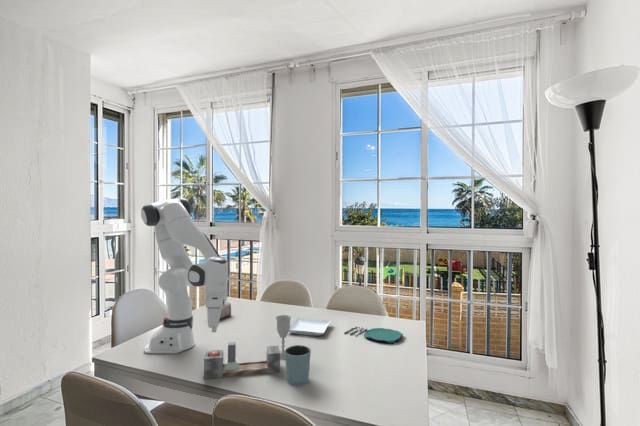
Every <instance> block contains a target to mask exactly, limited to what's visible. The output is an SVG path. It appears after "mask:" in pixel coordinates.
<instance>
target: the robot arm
mask: <svg viewBox="0 0 640 426" xmlns="http://www.w3.org/2000/svg"><path fill="white" fill-rule="evenodd" d="M191 214H192V208H191V204H190V202H189V201H188V199H187V198H182V197H178V198H172V199H171V198H170V199H164V200H160V201H156V202H153V203H147V204H145V205H143V206H142V208H141V210H140V216H141V217H140V218H141V220H142V221H143V223H144V224H145V225H146V226H147V227H154V235H155V237H156V238H155V239H156V243H157V246H158V250H159V253H160V257H161V259H162V260H164V261H165V262H166V263H167V264H168V266H169V267H170V268H169V269H166V271H164V272H162V273H161V274H160V276H159V277H158V285H159V288H160V289H161V290H162V291H163V292H164V294H165V297H166V301H167V302H166V303H167V304H166V305H167V315H165V316H164V318H163V320H162V326H161V327H159V329H157V330H155V332H153V333H152V334H151V337H150V340H149V342H148V343H147V344H146V345H145V346H144V348H143V349H144V350H143V351H144V354H179V353H182V352H184V351H186V350H190V349H191V348H193V347H195V345H196V342H195V339H194V332H193V327H194V318H193V317H194V316H193V299H192V298H191V297H190V295H189V292H188V287H190V286H193V287H204V299H203V300H204V304H205V308H206V314H207V326H208V328H209V329H211V332H212V333H217V329H218V327H219V325H220V320H221V319H220V313H221V309H222V307H223V305H224V304H225V302H228V286H227V285H228V284H227V283H228V281H229V278H230V277H229V276H230V270H231V269H230V267H229V264H228V261H227V259H225V258H223V257H222V256H220V254H219V252H218V251H217V250H216V248H215V246H214V245H213V243H212V242H211V240H210V239H209V237H208V236H207V235H206V234H205V233H204V232H203V231H202V230H200V229H199V228H198V226H197V225H196V224H195V222H194V221H193V219H192V217H191ZM185 245H187V246H190V247H193V248H195V249H197V250H198V251H199V252H200V253H201V255H202V256H203V258H204V259H205V261H201V262H198V263H195V264H194V263H193V261H192V260H191V258H190V257H189V255H188V253H187V250H186V249H185ZM219 319H220V320H219Z"/></svg>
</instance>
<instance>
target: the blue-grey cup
mask: <svg viewBox="0 0 640 426" xmlns="http://www.w3.org/2000/svg"><path fill="white" fill-rule="evenodd" d="M284 350H285V357H286V359H285V369H286V382H287V383H288V384H289V385H291V386H303V385H306V384H307V383H308V382H309V377H310V375H309V373H310V362H311V354H312V353H311V352H312V350H311V348H310V347H309V346H307V345H302V344H301V345H300V344H294V345H291V346H288V347H287V348H285V349H284Z"/></svg>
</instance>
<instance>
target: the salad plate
mask: <svg viewBox="0 0 640 426" xmlns="http://www.w3.org/2000/svg"><path fill="white" fill-rule="evenodd" d="M331 323H332V320H328V319H327V320H326V319H316V318H302V317H301V318H299V317H298V318H296V319H295V320H294V321H293V322H292V323H290V329H289V332H288V333H291V334H295V335H304V334H305V335H306V336H314V337H315V336H322V335H324V334H325V332H326V330H327V329H328V328H329V326H330V325H331Z"/></svg>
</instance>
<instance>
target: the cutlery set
mask: <svg viewBox="0 0 640 426" xmlns="http://www.w3.org/2000/svg"><path fill="white" fill-rule="evenodd" d="M360 327H361V326H360ZM360 327H359V326H358V328H359V329H362V328H363V330H360V331H358V330H359V329H355V328H353V327H351V328H350V329H349V330H346V331H344V332H343V333H344V335H347V333H349V331H350V333H349V335H351V336H352V335H353V334H355V333H356V334H355V335H354V337H355V336H356V337H357V336H359V335H360V334H362V333H363V337H364V338H365V339H366V338H368V339H370V340H373V341H377V342H383V343H384V342H387V343H389V344H390V343H395V342H396V341H397V342H398V341H400V340H401V339H402V338H403V333H402V332H401V331H399V330H394V329H390V328H384V327H376V328H374V327H373V328H371V329H367V328H365V329H364V327H363V326H362V328H360ZM353 329H355V330H354V331H353ZM366 329H367V330H366ZM365 330H366V331H365ZM351 331H352V332H351ZM356 331H357V332H358V333H357V332H356Z"/></svg>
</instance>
